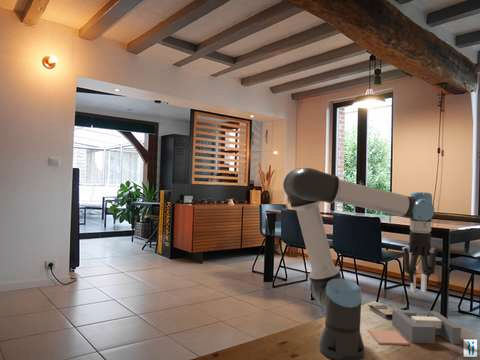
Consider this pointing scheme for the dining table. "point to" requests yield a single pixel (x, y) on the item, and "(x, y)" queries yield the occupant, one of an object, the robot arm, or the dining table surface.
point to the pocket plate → (425, 327)
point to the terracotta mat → (388, 337)
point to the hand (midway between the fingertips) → (418, 291)
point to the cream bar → (427, 320)
